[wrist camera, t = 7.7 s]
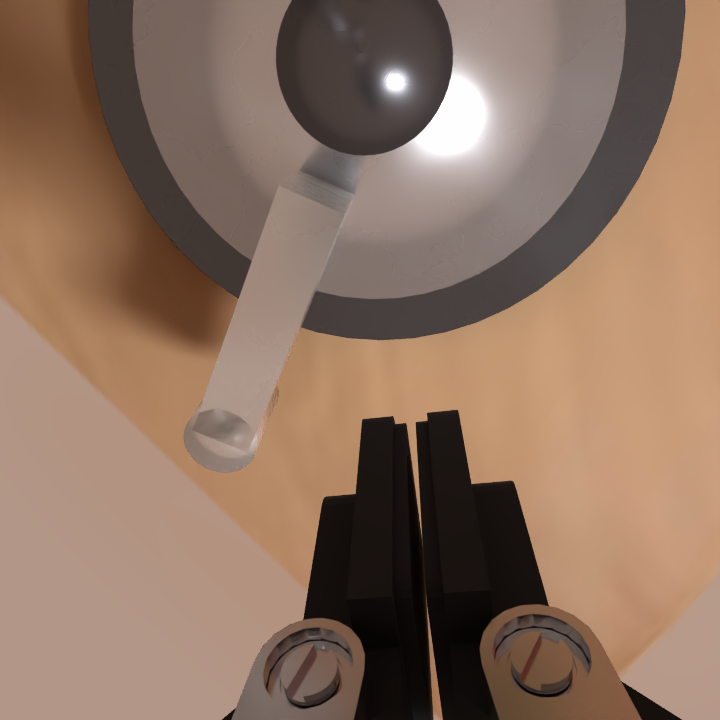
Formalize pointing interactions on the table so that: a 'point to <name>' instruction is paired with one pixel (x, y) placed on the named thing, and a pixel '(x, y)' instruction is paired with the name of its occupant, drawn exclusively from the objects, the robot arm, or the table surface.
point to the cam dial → (364, 153)
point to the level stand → (447, 305)
